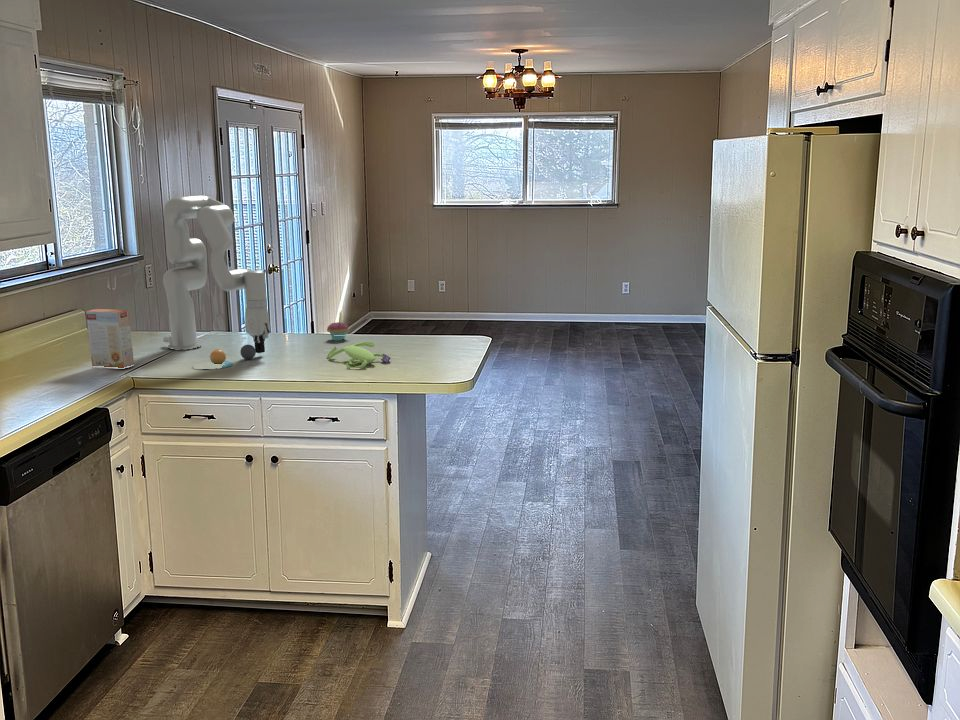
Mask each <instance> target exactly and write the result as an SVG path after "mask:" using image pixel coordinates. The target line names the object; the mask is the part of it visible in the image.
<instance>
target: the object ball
mask: <svg viewBox="0 0 960 720" xmlns="http://www.w3.org/2000/svg"><path fill="white" fill-rule="evenodd" d="M226 355H227V354H226V353H225V351H223V350H222V349H218V348H217V349H214V350H213V351H212V352H211V353H210V354H209V360H210V361H211V362H212V363H214V364H222V363H223V362H224V361H226V359H227V356H226Z"/></svg>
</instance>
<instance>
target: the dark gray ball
mask: <svg viewBox="0 0 960 720" xmlns="http://www.w3.org/2000/svg"><path fill="white" fill-rule="evenodd" d="M239 353H240V356H241V357H242V358H243V359H245V360H252V359H254V358H255V356H256V350H255V346H253V345H251V344H245V345H242V347H241V349H240V351H239Z"/></svg>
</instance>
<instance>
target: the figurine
mask: <svg viewBox="0 0 960 720" xmlns="http://www.w3.org/2000/svg"><path fill="white" fill-rule="evenodd" d="M375 345H376V343H375V342H374V341H359V342H356V343H354V344H351V345H346V346H344V347H343V348H342V347H341V348H340V349H338V347H336V346H335V347H333V348H332V349H331V350H330V351H329V353H328V354H327V355H326V358H329V359H332V358H333V357H335V356H337V355H338V354H340V353H343V352H345V354H346V355H348V356H349V358H350V359H349V360H348V362H346V363H345V365H346V368H347V369H348V368H362V369H363V368H364V367H366V366H367V365H368V364H369V363H371V362H372V363H373V362H375V361H376V357H382V358H380V361H382V362H385V363H387V362H388V361H389V360H390V361H391V356H388V355H387V354H385V353H372V352H371V351H370V350H368V349H365V348H363V347H369V348H373V347H375ZM362 346H363V347H362ZM353 361H355V362H353ZM390 361H389V362H390ZM389 362H388V363H389ZM360 363H361V365H358V366H354V367H353V365H357V364H360ZM372 363H371V364H372Z"/></svg>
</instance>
